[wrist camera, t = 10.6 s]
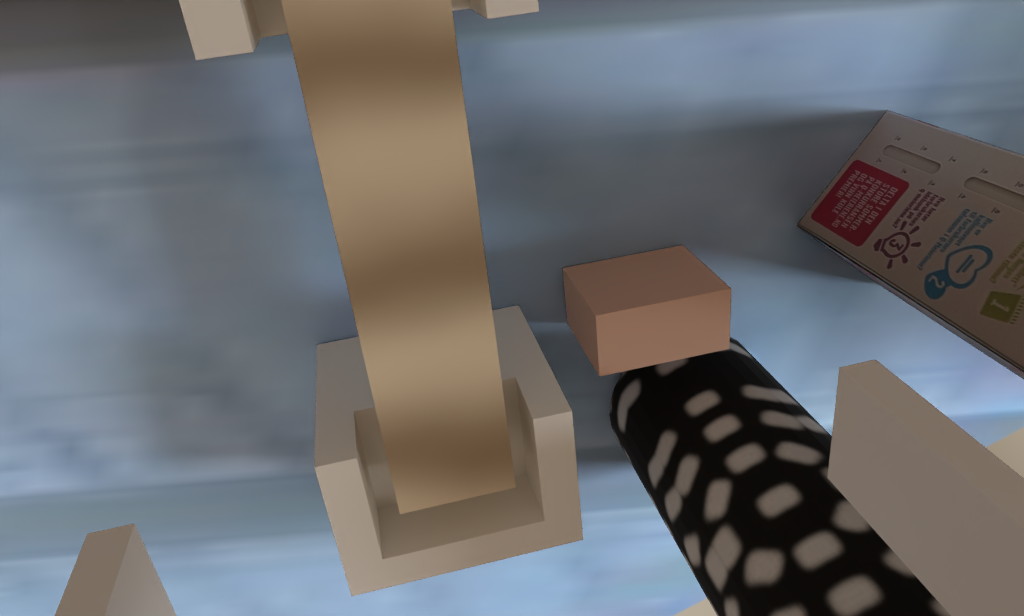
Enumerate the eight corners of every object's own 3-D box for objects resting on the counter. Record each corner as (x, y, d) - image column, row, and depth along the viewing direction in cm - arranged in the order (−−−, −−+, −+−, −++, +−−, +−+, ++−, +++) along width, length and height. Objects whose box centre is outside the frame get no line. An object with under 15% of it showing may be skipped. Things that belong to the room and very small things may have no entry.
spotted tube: (726, 300, 39) (1055, 611, 21) (774, 411, 43) (1084, 749, 25) (584, 383, 39) (793, 755, 22) (645, 485, 43) (862, 867, 26)
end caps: (177, -186, 25) (111, -234, 17) (459, -213, 27) (515, -269, 19) (346, 456, 38) (351, 596, 30) (531, 416, 39) (583, 539, 31)
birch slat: (270, -77, 22) (263, -78, 19) (424, -96, 23) (437, -98, 20) (393, 464, 31) (399, 513, 29) (500, 441, 32) (515, 487, 29)
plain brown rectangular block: (525, -185, 27) (563, -205, 23) (682, -201, 28) (748, -224, 24) (567, 323, 37) (599, 376, 33) (682, 300, 38) (729, 348, 34)
